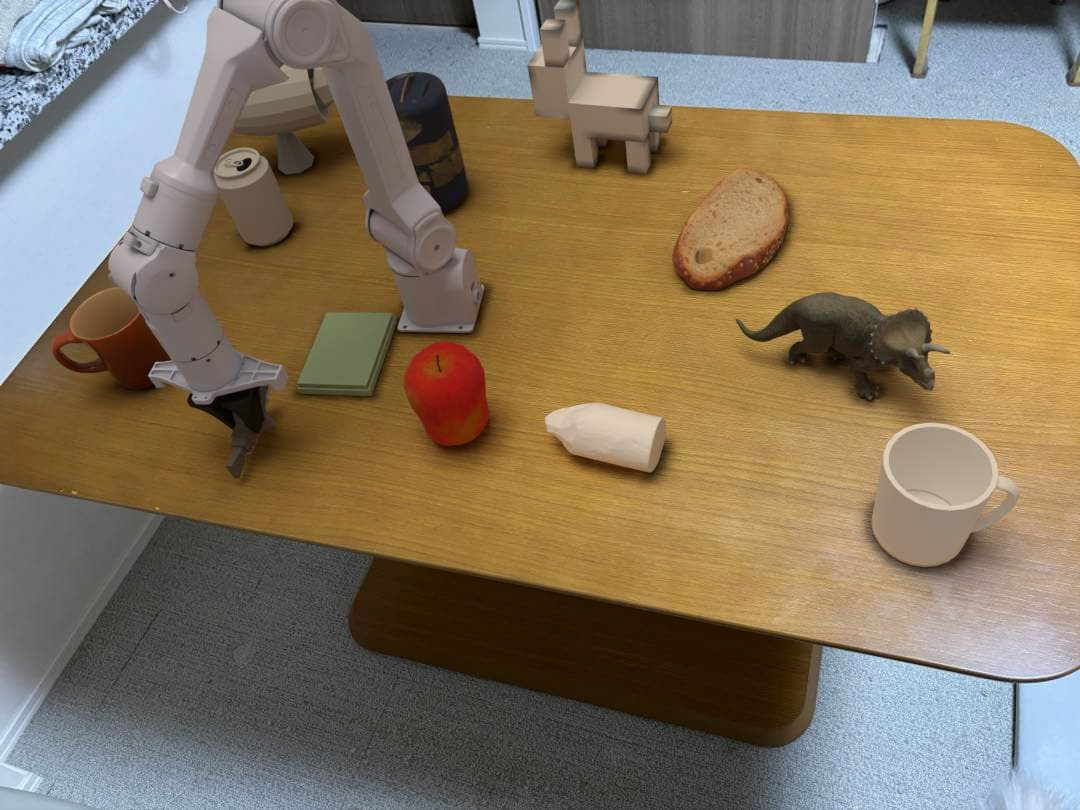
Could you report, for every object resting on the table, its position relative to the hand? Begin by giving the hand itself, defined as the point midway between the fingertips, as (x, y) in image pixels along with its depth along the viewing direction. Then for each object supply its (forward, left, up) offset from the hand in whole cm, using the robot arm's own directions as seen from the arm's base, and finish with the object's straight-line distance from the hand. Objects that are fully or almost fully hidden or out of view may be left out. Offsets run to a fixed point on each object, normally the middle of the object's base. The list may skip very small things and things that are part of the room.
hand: (249, 425), depth 98 cm
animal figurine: (0, 0, -2) cm, 2 cm away
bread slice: (-51, -35, -3) cm, 62 cm away
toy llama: (-34, -52, -3) cm, 63 cm away
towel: (-7, -13, -3) cm, 15 cm away
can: (+12, -36, -3) cm, 38 cm away
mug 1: (+20, -9, -3) cm, 22 cm away
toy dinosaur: (-63, -13, -3) cm, 64 cm away
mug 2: (-70, +7, -3) cm, 70 cm away
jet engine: (+11, -52, -3) cm, 53 cm away
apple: (-23, -3, -3) cm, 23 cm away
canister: (-11, -43, -3) cm, 44 cm away
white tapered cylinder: (-39, -1, -3) cm, 39 cm away
